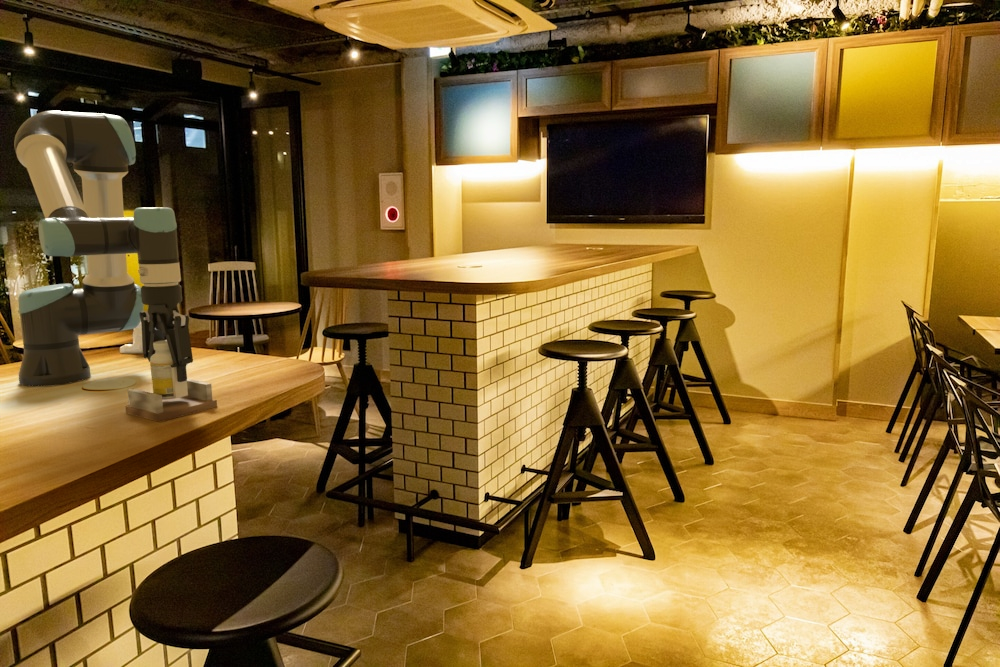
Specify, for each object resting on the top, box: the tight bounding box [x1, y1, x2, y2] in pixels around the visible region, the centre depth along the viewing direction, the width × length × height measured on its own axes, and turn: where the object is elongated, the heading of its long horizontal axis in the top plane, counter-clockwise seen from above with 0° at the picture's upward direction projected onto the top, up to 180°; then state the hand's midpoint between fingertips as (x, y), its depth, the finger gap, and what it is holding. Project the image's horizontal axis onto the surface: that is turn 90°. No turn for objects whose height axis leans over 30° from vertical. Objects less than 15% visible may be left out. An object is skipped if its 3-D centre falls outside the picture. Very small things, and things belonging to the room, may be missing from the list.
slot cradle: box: [124, 378, 218, 423], centre depth 149 cm, size 12×13×5 cm
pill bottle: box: [149, 339, 175, 400], centre depth 148 cm, size 6×6×12 cm
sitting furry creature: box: [119, 322, 149, 354], centre depth 211 cm, size 10×9×12 cm
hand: (170, 394), depth 149 cm, fingers closed on pill bottle, 6 cm apart
